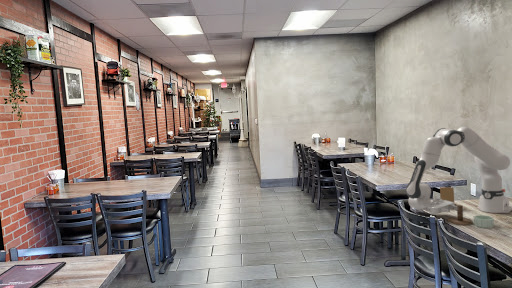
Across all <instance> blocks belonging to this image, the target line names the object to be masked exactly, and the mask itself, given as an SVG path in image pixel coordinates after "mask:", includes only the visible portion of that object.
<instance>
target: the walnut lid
mask: <svg viewBox="0 0 512 288" xmlns="http://www.w3.org/2000/svg"><path fill="white" fill-rule="evenodd" d="M456 206H457V209H456V213H457V214H456V215H457V216H454V217H449V218H448V219H447V222H448V223H450V224H453V225H457V226H458V225H459V226H470V225H473V224H474V220H472V219H470V218H468V217H464V212H463V211H464V209H463V207H464V206H463V205H460V204H459V205H456Z"/></svg>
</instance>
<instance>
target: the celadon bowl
mask: <svg viewBox="0 0 512 288" xmlns="http://www.w3.org/2000/svg"><path fill="white" fill-rule="evenodd" d="M473 226H475V227H477V228H484V229H489V228H490V229H491V228H494V227H495V219H494V217H492V216H490V215H487V214H486V215H485V214H484V215H483V214H479V215H477V214H475V215H474V216H473Z"/></svg>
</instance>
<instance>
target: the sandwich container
mask: <svg viewBox="0 0 512 288" xmlns="http://www.w3.org/2000/svg"><path fill="white" fill-rule="evenodd" d="M439 194H440V195H439V196H440V197H439V199H442V200H446V201H451V202H453V203H454V204H455V190H454V187H451V186H449V187H448V186H443V187H442V186H441V187H439ZM452 209H453V210H455V209H454V208H452Z"/></svg>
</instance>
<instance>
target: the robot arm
mask: <svg viewBox="0 0 512 288" xmlns="http://www.w3.org/2000/svg"><path fill="white" fill-rule="evenodd" d="M460 145H462V146H463V147H464V148H465V150H466V151H468V152H469V153H470V154H471V155H472V156H474V162H475V164H476V165H477V167H478V169H479V172H480V176H481V191H480V192H481V195H480V196H479V204H478V206H477V209H479V211H482V212H484V213H491V214H492V213H493V214H503V213H504V214H508V213H510V212H511V211H512V205H510V200H509V199H508V198H507V197H506V195H505V192H506V189H505V188H503V179H502V178H503V177H502V176H501V175H500V173H499V171H504V170H507V169H508V168H509V167H510V164H511V160H510V157H509V156H507V155H505V154H503V153H502V152H500V151H499V150H497V149H496V148H494V147H493V146H491V145H490V144H489V143H487V142H486V141H485V140H484V139H483V138H482V137H481V136H480V135H479V134H478V133H477V132H475V130H473V129H472V128H470V127H468V126H460V127H459V128H457V129H452V128H445V127H442V128H439V129H437V131H435V133H434V134H433V135H432V136H429V137H428V138H426V140H425V142H424V144H423V148H422V150H421V155H420V158H419V159H418V161H417V162H416V164H415V167H414V169H413V172H412V175H411V178H410V181H409V182H408V184H407V185H406V188H405V193H406V195H407V197H408V205H409V206H410V207H411V208H413V209H415V210H418V211H425V212H429V213H431V214H435V215H437V214H441V213H450V212H451V211H450V210H452V209H453V208H454V209H453V210H457V205H455V202H454V203H453V202H451V201H446V200H442V199H440V198H431V196H432V188H431V186H430V185H429V184H427V183H421V182H422V180H423V176H424V175H425V172H426V171H428V170H429V169H431V168H433V167H436V165H437V164H438V163H439V161H440V158H441V153H442V150H443V148H444V147H446V146H448V147H456V146H460Z"/></svg>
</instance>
